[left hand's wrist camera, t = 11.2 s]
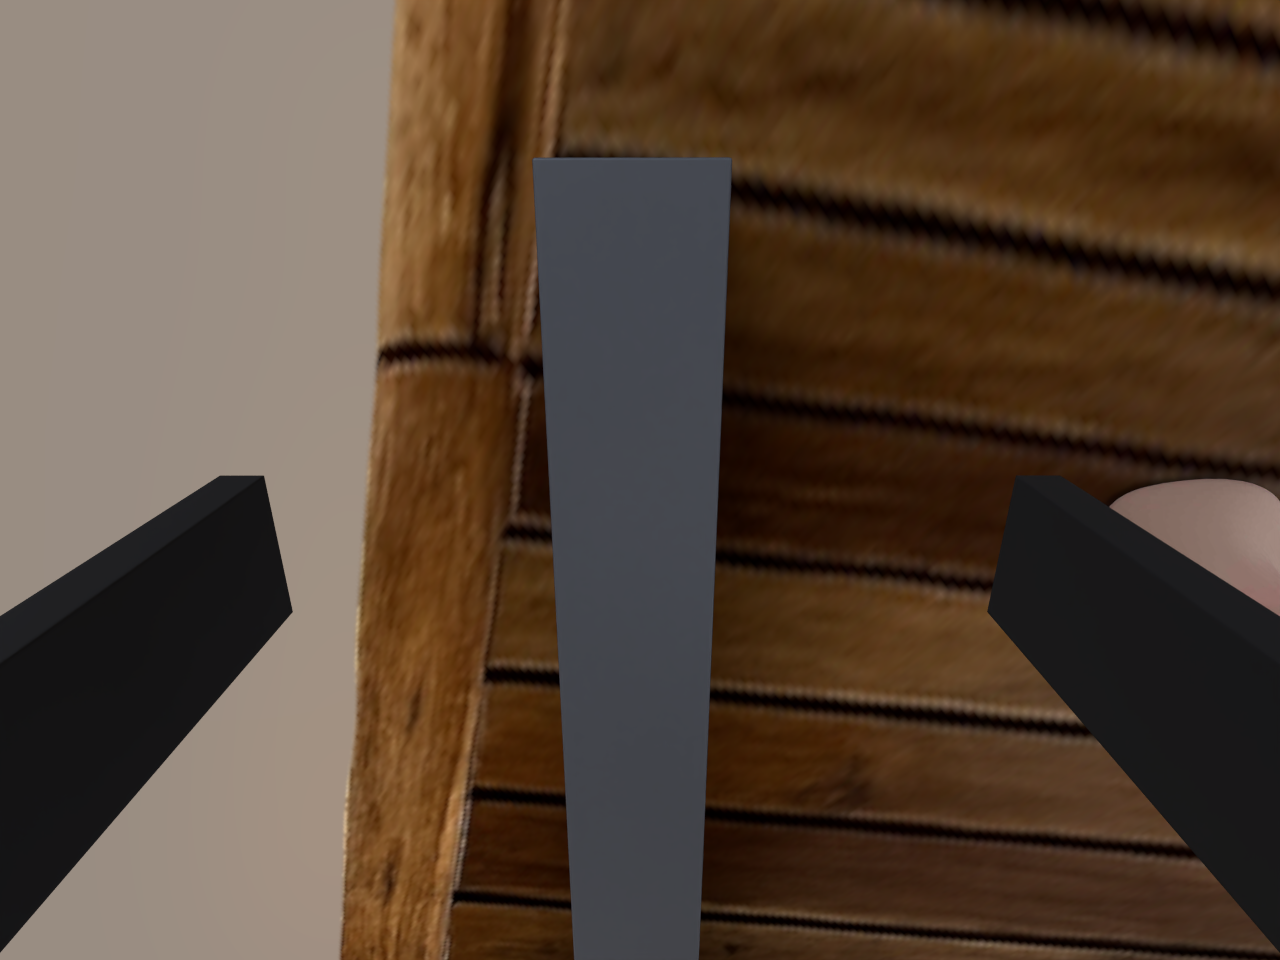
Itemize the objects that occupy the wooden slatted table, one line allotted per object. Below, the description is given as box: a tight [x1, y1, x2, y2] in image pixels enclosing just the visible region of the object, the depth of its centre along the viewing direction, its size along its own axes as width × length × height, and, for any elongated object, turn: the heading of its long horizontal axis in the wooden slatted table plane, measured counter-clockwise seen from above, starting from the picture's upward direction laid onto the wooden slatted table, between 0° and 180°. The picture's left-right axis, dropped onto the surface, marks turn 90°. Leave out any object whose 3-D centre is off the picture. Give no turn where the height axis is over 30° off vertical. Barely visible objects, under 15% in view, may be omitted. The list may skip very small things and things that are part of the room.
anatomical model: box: [1110, 479, 1280, 616], centre depth 34 cm, size 13×4×12 cm
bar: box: [532, 158, 732, 960], centre depth 35 cm, size 59×6×8 cm, turn 0°
